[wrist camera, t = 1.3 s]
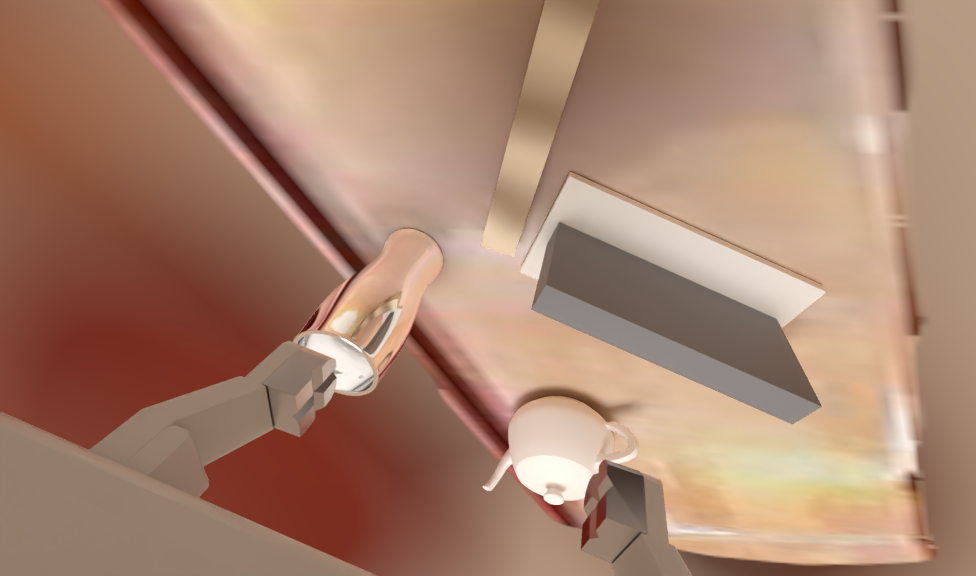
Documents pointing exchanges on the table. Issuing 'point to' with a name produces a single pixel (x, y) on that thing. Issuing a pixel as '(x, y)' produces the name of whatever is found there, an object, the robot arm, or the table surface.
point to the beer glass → (373, 311)
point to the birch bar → (537, 117)
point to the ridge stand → (672, 296)
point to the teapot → (560, 447)
